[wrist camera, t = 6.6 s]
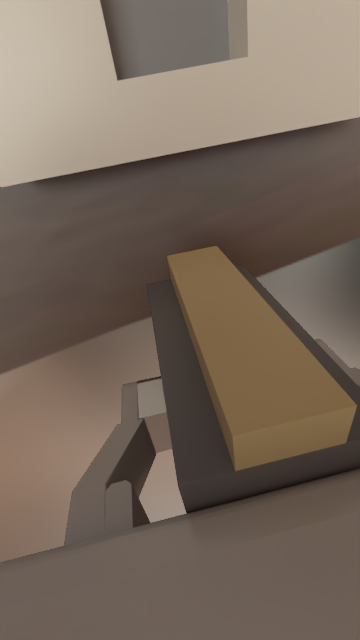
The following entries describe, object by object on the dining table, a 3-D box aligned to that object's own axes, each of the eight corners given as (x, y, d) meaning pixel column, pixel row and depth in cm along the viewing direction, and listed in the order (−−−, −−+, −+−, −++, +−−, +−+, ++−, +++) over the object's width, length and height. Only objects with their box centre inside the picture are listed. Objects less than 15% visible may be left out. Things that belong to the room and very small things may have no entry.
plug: (246, 394, 16) (332, 575, 9) (177, 411, 16) (216, 607, 9) (241, 240, 11) (417, 390, 4) (141, 261, 11) (167, 452, 4)
